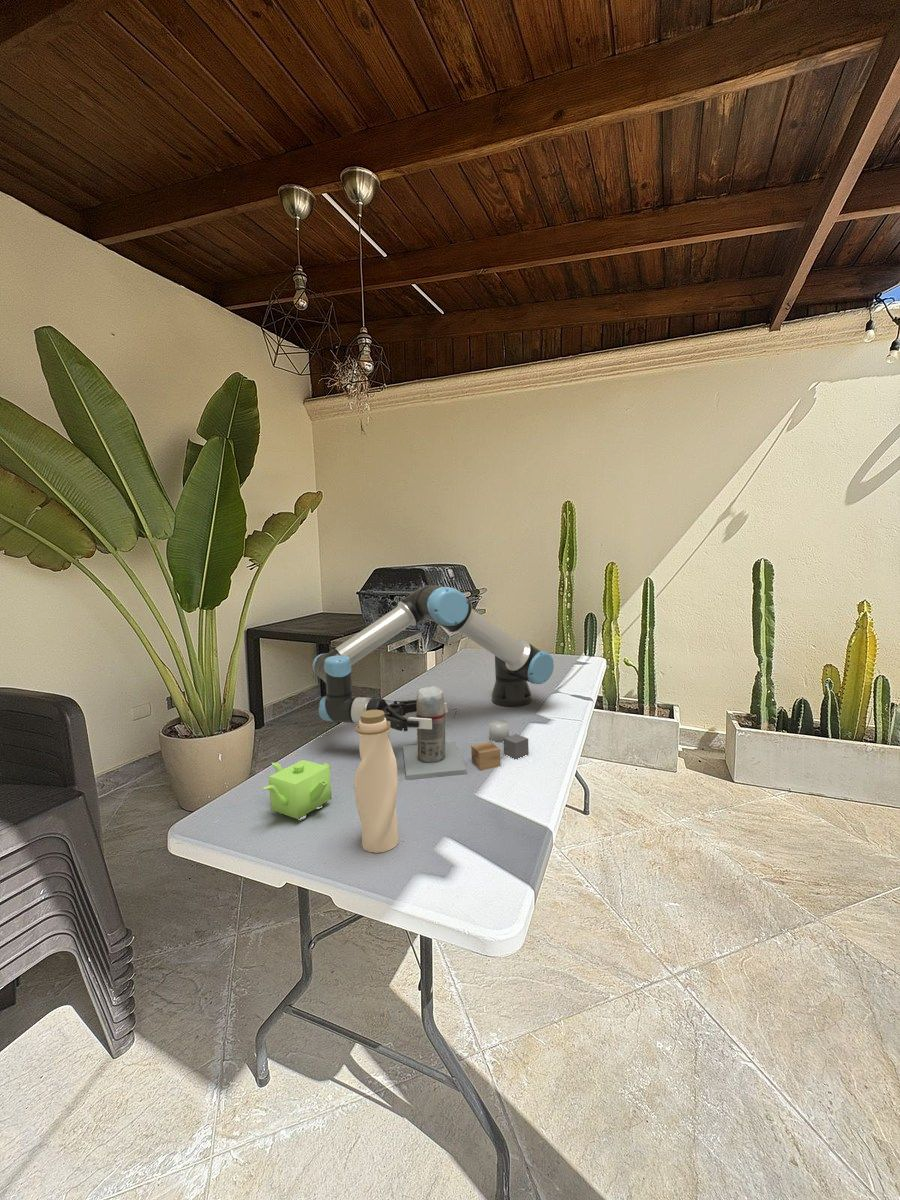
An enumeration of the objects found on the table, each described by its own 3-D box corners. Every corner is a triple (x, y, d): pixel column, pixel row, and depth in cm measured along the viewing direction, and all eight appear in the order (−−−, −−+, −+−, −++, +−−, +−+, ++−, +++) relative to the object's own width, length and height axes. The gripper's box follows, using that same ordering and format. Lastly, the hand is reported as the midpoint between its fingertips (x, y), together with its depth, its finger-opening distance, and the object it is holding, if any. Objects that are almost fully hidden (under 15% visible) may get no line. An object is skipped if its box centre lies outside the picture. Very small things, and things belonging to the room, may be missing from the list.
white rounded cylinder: (487, 736, 168) (487, 720, 168) (506, 734, 169) (505, 719, 168) (491, 743, 162) (491, 727, 162) (511, 741, 163) (510, 725, 162)
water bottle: (360, 828, 117) (352, 706, 114) (401, 825, 118) (394, 703, 115) (356, 856, 107) (347, 722, 104) (401, 852, 108) (393, 719, 105)
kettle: (266, 831, 118) (262, 783, 117) (270, 801, 132) (266, 758, 131) (335, 819, 122) (332, 772, 121) (332, 791, 136) (329, 749, 134)
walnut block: (471, 762, 150) (471, 745, 149) (491, 758, 152) (490, 741, 151) (480, 770, 144) (479, 753, 143) (500, 766, 146) (499, 749, 145)
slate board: (403, 750, 160) (402, 746, 160) (455, 745, 162) (455, 741, 162) (406, 779, 140) (406, 775, 140) (466, 773, 142) (466, 769, 142)
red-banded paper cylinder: (451, 753, 153) (449, 686, 150) (439, 765, 145) (436, 694, 143) (425, 749, 156) (422, 683, 154) (412, 761, 149) (408, 691, 146)
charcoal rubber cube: (503, 754, 154) (503, 738, 153) (516, 750, 157) (515, 733, 156) (516, 760, 150) (515, 743, 149) (528, 755, 153) (528, 738, 152)
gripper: (388, 709, 167) (453, 713, 161) (350, 739, 144) (424, 745, 137) (387, 686, 166) (452, 689, 160) (349, 712, 143) (423, 717, 136)
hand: (439, 715), depth 149 cm, fingers open, 13 cm apart
